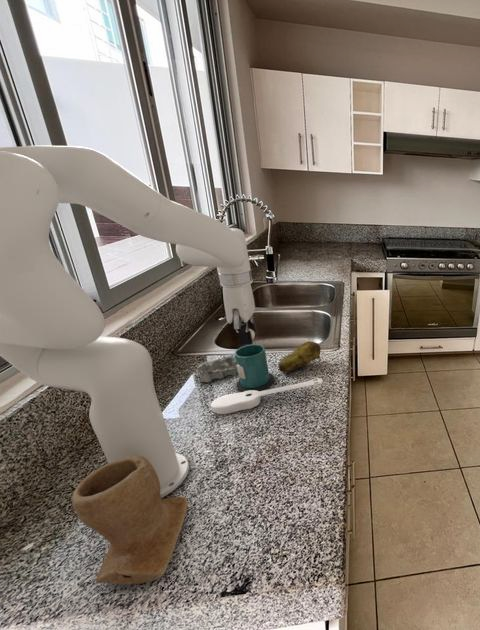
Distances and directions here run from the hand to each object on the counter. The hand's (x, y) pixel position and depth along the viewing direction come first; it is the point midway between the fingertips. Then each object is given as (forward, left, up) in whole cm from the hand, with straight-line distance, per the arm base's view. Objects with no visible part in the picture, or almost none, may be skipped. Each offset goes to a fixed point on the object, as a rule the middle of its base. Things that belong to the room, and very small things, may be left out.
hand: (248, 340), depth 96 cm
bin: (0, 0, -14) cm, 14 cm away
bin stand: (0, 0, -14) cm, 14 cm away
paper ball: (0, 0, +2) cm, 2 cm away
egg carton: (+7, +12, -14) cm, 20 cm away
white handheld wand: (-9, -6, -14) cm, 18 cm away
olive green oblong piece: (+7, -12, -14) cm, 20 cm away
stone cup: (-47, +7, -14) cm, 50 cm away
